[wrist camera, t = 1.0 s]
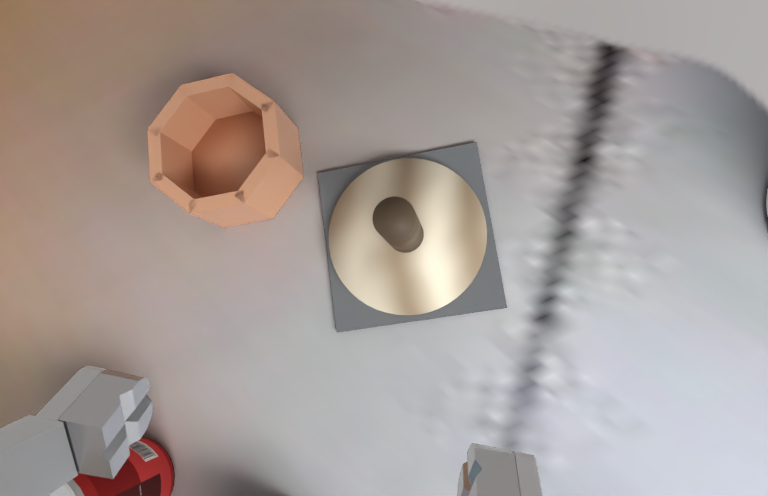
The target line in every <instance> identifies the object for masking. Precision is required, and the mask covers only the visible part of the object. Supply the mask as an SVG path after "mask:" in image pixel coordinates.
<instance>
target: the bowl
mask: <svg viewBox="0 0 768 496" xmlns="http://www.w3.org/2000/svg"><path fill="white" fill-rule="evenodd" d="M147 133H148V151H149V169H150V182H151V183H152V184H153V185H154V186H156V187H157V188H158V189H159V190H161V191H162V192H163V193H164V194H166V195H167V196H168V197H169V198H171V199H172V200H173V201H174V202H176V203H177V204H178V205H179V206H181V207H182V208H183V209H184V210H186V211H187V212H188V213H189V214H191V215H194V216H196V217H199V218H201V219H204V220H206V221H209V222H212V223H214V224H217V225H219V226H222V227H224V228H225V227H231V226H236V225H242V224H247V223H253V222H258V221H263V220H269V219H273V218H274V217H275V215H276V214H277V213H278V211H279V210H280V209H281V207H282V206H283V204H284V203H285V202H286V200H287V199H288V198H289V196H290V195H291V194H292V192H293V191H294V190H295V188H296V187H297V186H298V184H299V183H300V182H301V180H302V179H303V178H304V174H303V166H302V157H301V148H300V139H299V131H298V128H297V127H296V126H295V125H294V123H293V122H292V121H291V120H290V119H289V118H288V116H287V115H286V114H285V113H284V112H283V111H282V109H281V108H280V107H279V106H278V105H277V104H276V103H275V101H273V100H272V99H270V98H269V97H267V96H266V95H264V94H263V93H262V92H260V91H259V90H257V89H256V88H254V87H253V86H251V85H250V84H248V83H247V82H245V81H244V80H242V79H241V78H240V77H238V76H237V75H235V74H234V73H230V74H225V75H221V76H217V77H212V78H208V79H204V80H199V81H195V82H191V83H187V84H182V85H180V87H179V88H178V89H177V91H176V92H175V93H174V95H173V96H172V97H171V99H170V100H169V101H168V103H167V104H166V105H165V107H164V108H163V109H162V110H161V112H160V113H159V114H158V116H157V117H156V118H155V120H154V121H153V122H152V124H151V125H150V126H149V128H148V129H147Z"/></svg>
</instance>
